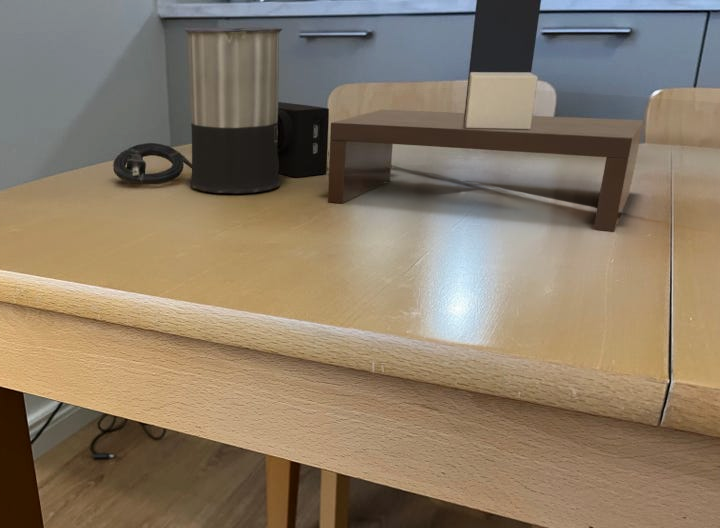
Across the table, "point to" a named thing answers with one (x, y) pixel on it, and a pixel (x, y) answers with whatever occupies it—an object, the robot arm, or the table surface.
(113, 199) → the table surface
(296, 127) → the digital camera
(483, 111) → the tall dark upright panel
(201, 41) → the milk frother
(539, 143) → the monitor stand
